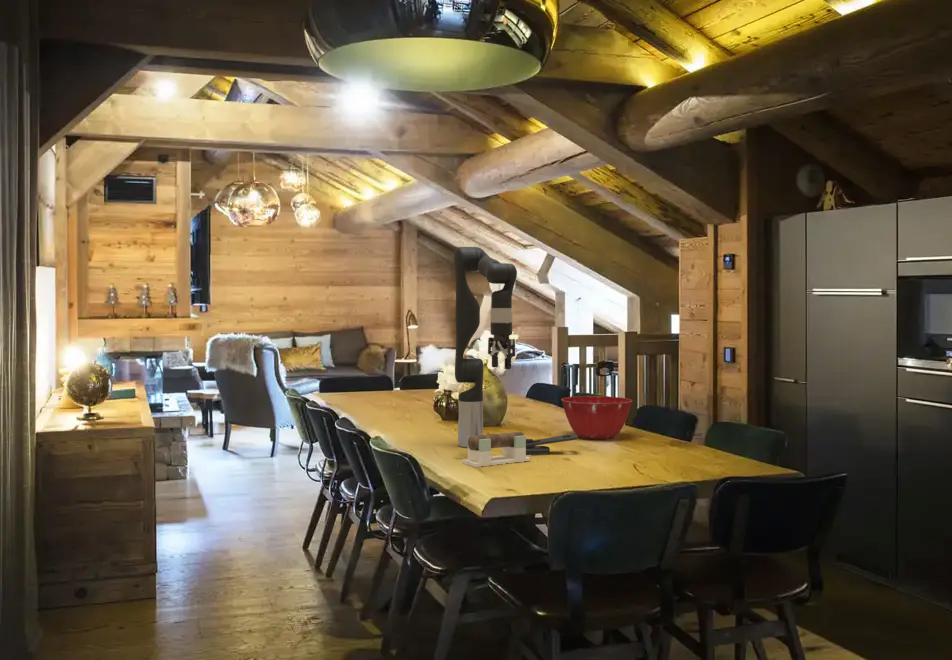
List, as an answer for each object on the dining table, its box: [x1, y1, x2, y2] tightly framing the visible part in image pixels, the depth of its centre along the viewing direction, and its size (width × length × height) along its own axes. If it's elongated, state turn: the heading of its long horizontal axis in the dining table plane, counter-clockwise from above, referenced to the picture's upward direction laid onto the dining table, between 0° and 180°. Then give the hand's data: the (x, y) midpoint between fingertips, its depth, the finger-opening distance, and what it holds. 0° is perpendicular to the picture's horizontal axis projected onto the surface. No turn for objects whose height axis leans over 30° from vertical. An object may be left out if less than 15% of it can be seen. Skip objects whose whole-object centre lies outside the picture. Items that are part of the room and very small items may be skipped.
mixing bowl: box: [561, 395, 633, 440], centre depth 372 cm, size 28×28×16 cm
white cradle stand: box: [461, 434, 532, 468], centre depth 316 cm, size 22×9×9 cm, turn 120°
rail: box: [468, 431, 525, 450], centre depth 316 cm, size 20×5×5 cm, turn 120°
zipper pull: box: [526, 433, 579, 456], centre depth 334 cm, size 9×7×25 cm
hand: (501, 368), depth 318 cm, fingers open, 8 cm apart
